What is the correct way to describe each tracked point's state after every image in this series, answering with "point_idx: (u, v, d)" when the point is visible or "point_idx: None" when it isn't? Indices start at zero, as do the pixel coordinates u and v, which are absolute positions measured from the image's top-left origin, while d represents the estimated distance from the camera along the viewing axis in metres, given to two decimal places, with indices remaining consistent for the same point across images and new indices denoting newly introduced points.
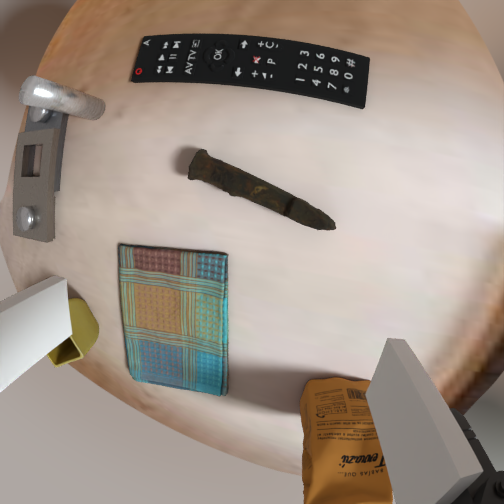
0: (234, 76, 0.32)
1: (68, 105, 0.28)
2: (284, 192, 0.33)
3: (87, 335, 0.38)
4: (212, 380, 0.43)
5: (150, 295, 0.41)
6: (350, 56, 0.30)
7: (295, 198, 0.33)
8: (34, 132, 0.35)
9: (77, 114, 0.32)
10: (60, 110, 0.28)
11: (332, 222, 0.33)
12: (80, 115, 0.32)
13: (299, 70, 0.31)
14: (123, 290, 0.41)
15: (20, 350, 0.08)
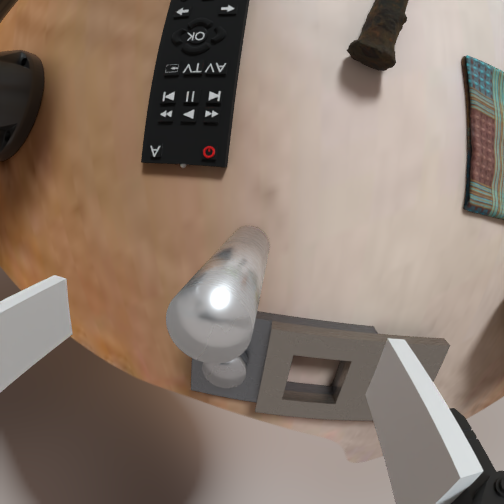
0: (235, 11, 0.20)
1: (254, 255, 0.17)
2: None
3: None
4: None
5: None
6: None
7: None
8: (265, 376, 0.25)
9: (266, 257, 0.21)
10: (262, 274, 0.17)
11: None
12: (266, 255, 0.22)
13: None
14: None
15: (20, 350, 0.08)
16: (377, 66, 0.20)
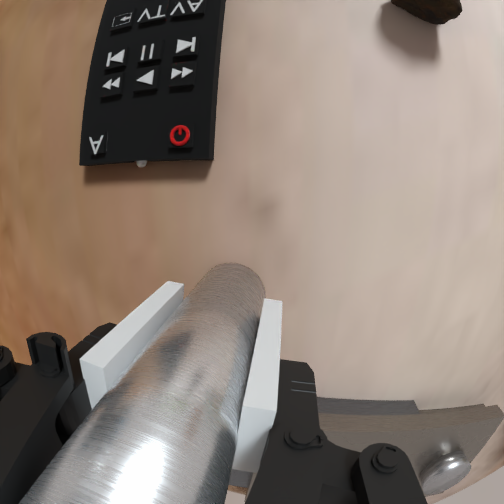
0: None
1: (222, 366, 0.07)
2: None
3: None
4: None
5: None
6: None
7: None
8: None
9: (255, 338, 0.11)
10: None
11: None
12: None
13: None
14: None
15: None
16: (434, 15, 0.09)
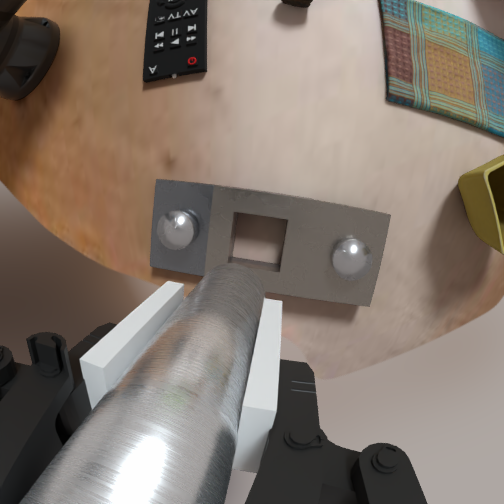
0: None
1: (222, 367, 0.07)
2: None
3: (501, 156, 0.22)
4: (502, 48, 0.21)
5: (438, 74, 0.25)
6: None
7: None
8: (211, 236, 0.30)
9: (255, 339, 0.11)
10: (241, 408, 0.07)
11: None
12: (257, 330, 0.11)
13: None
14: (440, 104, 0.26)
15: None
16: (301, 3, 0.24)
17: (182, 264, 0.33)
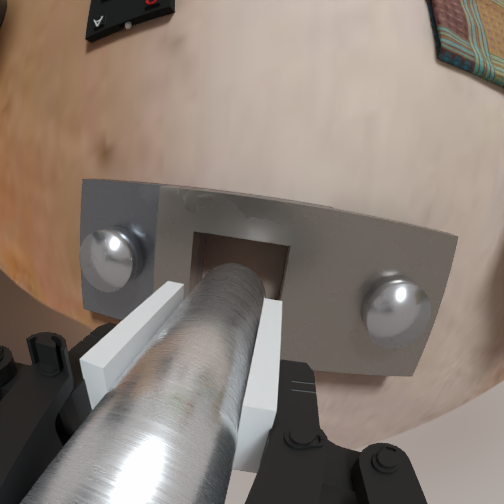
0: None
1: (223, 366, 0.07)
2: None
3: None
4: None
5: (496, 35, 0.12)
6: None
7: None
8: (158, 272, 0.17)
9: (255, 338, 0.11)
10: None
11: None
12: None
13: None
14: None
15: None
16: None
17: (125, 310, 0.20)
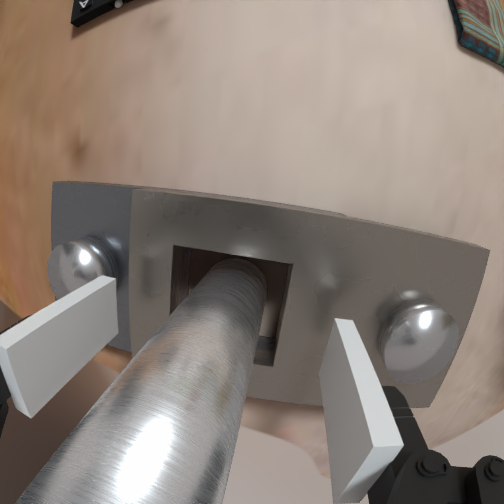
0: None
1: (229, 346, 0.08)
2: None
3: None
4: None
5: None
6: None
7: None
8: (133, 293, 0.14)
9: (258, 326, 0.11)
10: (246, 384, 0.08)
11: None
12: (260, 318, 0.12)
13: None
14: None
15: (74, 351, 0.09)
16: None
17: None
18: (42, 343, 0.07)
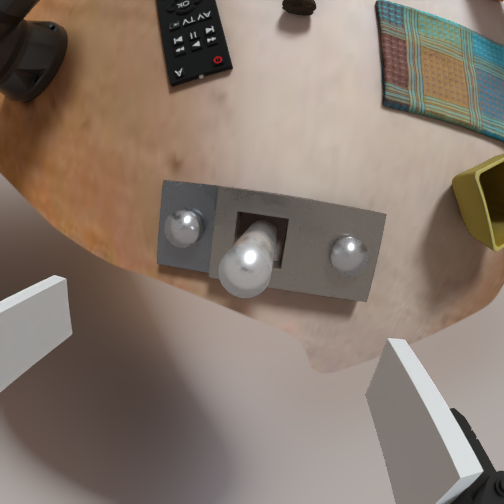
0: None
1: (268, 237, 0.26)
2: None
3: (494, 157, 0.24)
4: (496, 52, 0.23)
5: (433, 79, 0.27)
6: None
7: None
8: (215, 234, 0.32)
9: (275, 241, 0.29)
10: (274, 250, 0.26)
11: None
12: None
13: None
14: (434, 108, 0.27)
15: (20, 350, 0.08)
16: (305, 11, 0.26)
17: (188, 261, 0.34)
18: None
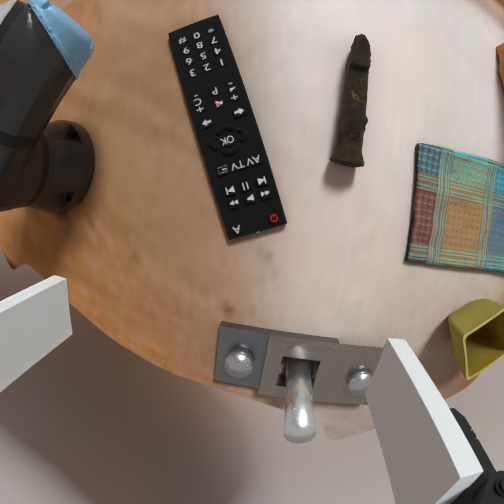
0: (245, 112, 0.34)
1: (309, 389, 0.34)
2: (349, 75, 0.30)
3: (485, 306, 0.32)
4: None
5: (452, 230, 0.35)
6: (176, 44, 0.33)
7: (351, 65, 0.29)
8: (265, 369, 0.40)
9: None
10: (312, 397, 0.34)
11: (357, 35, 0.28)
12: (310, 377, 0.38)
13: (212, 67, 0.33)
14: (447, 260, 0.35)
15: (20, 350, 0.08)
16: None
17: (240, 380, 0.42)
18: None
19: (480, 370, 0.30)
